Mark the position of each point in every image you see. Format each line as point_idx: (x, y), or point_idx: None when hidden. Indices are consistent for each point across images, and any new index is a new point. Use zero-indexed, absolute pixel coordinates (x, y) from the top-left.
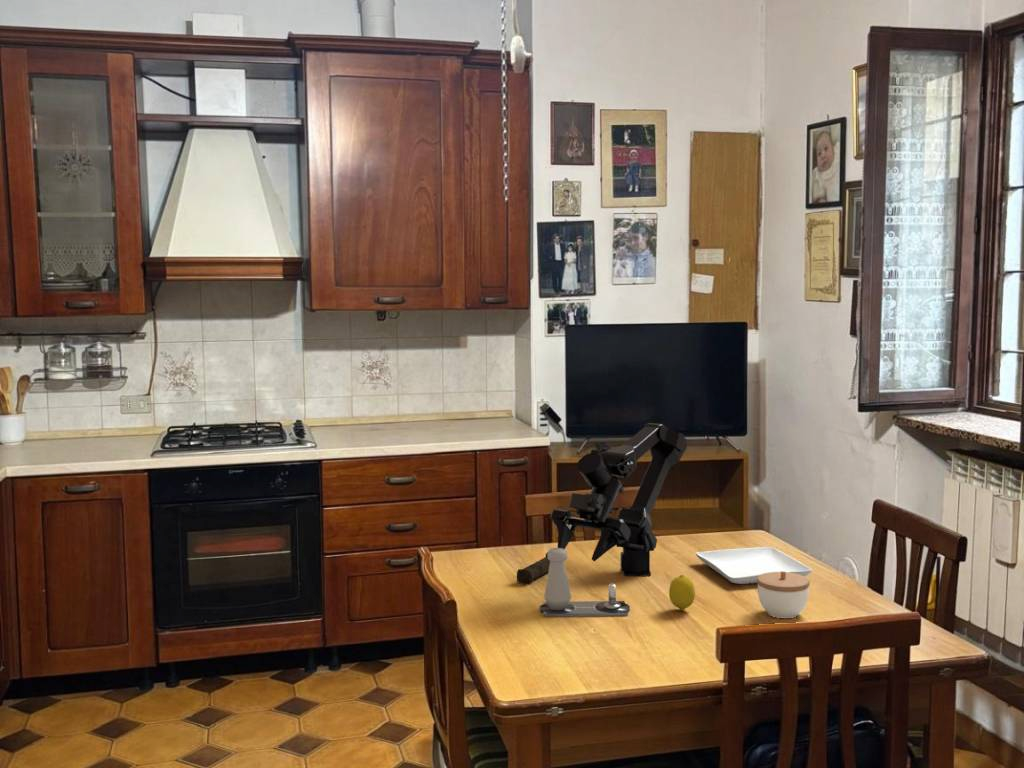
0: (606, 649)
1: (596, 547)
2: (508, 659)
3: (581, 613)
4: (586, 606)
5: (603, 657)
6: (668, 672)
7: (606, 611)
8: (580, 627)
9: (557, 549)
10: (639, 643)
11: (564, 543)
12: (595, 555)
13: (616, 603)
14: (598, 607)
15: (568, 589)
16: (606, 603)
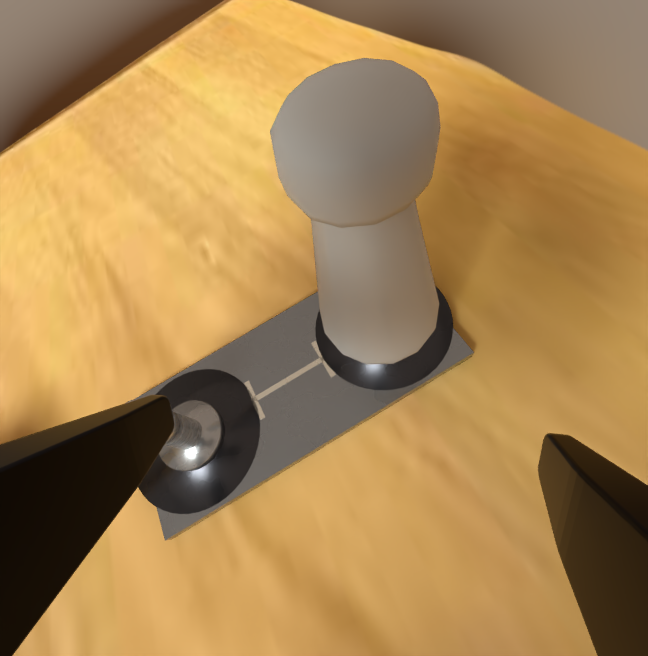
0: (148, 181)
1: (56, 439)
2: (314, 54)
3: (274, 317)
4: (286, 391)
5: (146, 151)
6: (28, 167)
7: (201, 378)
8: (245, 247)
9: (342, 93)
10: (84, 242)
11: (620, 618)
12: (119, 408)
13: (175, 453)
14: (240, 404)
15: (319, 296)
16: (211, 432)
